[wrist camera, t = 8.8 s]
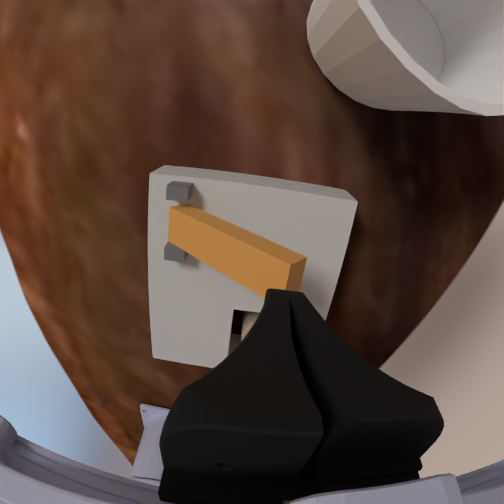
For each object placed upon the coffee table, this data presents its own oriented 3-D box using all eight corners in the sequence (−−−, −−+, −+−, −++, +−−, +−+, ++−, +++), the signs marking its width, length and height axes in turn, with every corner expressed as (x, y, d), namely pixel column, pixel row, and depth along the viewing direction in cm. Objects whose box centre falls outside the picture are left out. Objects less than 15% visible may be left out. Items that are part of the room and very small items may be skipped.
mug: (281, 67, 17) (301, 19, 8) (335, -43, 13) (379, -125, 4) (441, 154, 19) (542, 192, 9) (480, 48, 15) (576, 38, 5)
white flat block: (302, 352, 26) (307, 388, 22) (162, 334, 25) (148, 367, 22) (345, 189, 20) (364, 207, 16) (164, 165, 20) (142, 177, 16)
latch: (297, 298, 14) (281, 307, 13) (184, 236, 18) (168, 240, 17) (307, 257, 13) (290, 264, 12) (187, 203, 17) (169, 207, 17)
